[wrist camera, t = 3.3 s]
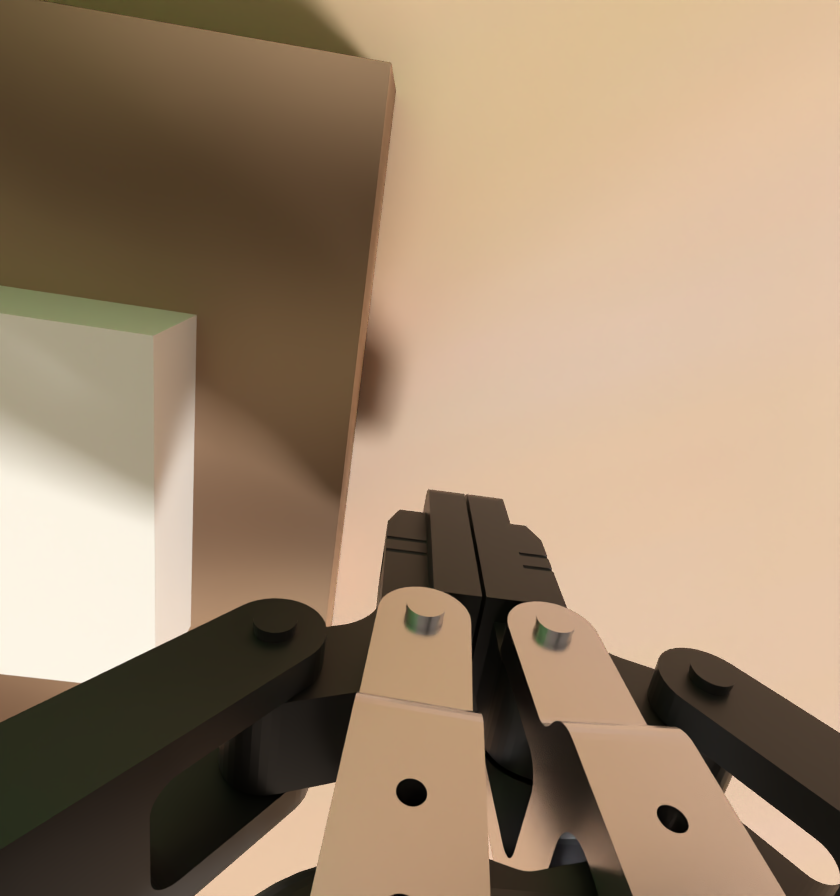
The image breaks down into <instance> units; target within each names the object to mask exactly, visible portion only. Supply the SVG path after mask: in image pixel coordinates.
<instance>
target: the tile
mask: <svg viewBox="0 0 840 896" xmlns="http://www.w3.org/2000/svg"><path fill="white" fill-rule="evenodd" d="M196 327H197V315H195V314H188V313H181V312H175V311H168V310H161V309H154V308H148V307H141V306H134V305H128V304H121V303H114V302H108V301H101V300H94V299H87V298H81V297H74V296H67V295H61V294H54V293H47V292H40V291H34V290H27V289H20V288H14V287H7V286H0V674H4V675H13V676H22V677H31V678H40V679H49V680H58V681H67V682H76V683H83V682H85V681H87V680H89V679H91V678H93V677H95V676H97V675H99V674H101V673H103V672H105V671H108V670H110V669H112V668H114V667H116V666H118V665H120V664H122V663H124V662H126V661H128V660H130V659H132V658H134V657H136V656H139V655H141V654H143V653H145V652H147V651H149V650H151V649H153V648H155V647H157V646H159V645H161V644H163V643H165V642H167V641H170V640H172V639H174V638H176V637H178V636H180V635H182V634H184V633H186V632H188V630H189V628H190V626H191V583H192V532H193V481H194V430H195V379H196Z"/></svg>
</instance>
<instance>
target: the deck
mask: <svg viewBox="0 0 840 896" xmlns="http://www.w3.org/2000/svg"><path fill="white" fill-rule="evenodd" d="M395 93H396V89H395V83H394V77H393V71H392V65H391V63H390V62H384V61H379V60H373V59H367V58H362V57H356V56H350V55H345V54H339V53H334V52H328V51H322V50H317V49H311V48H305V47H300V46H294V45H289V44H283V43H277V42H272V41H266V40H260V39H255V38H249V37H243V36H238V35H232V34H227V33H221V32H215V31H210V30H204V29H198V28H193V27H187V26H181V25H176V24H170V23H165V22H159V21H153V20H148V19H142V18H136V17H131V16H125V15H120V14H114V13H108V12H103V11H97V10H91V9H86V8H80V7H74V6H69V5H63V4H58V3H52V2H46V1H41V0H0V286H7V287H14V288H20V289H27V290H34V291H40V292H47V293H54V294H61V295H67V296H74V297H81V298H87V299H94V300H101V301H108V302H114V303H121V304H128V305H134V306H141V307H148V308H154V309H161V310H168V311H175V312H181V313H188V314H195V315H197V327H196V379H195V430H194V481H193V532H192V583H191V626H190V628H189V630H188V631H190V630H192V629H194V628H196V627H198V626H201V625H203V624H205V623H207V622H209V621H211V620H213V619H215V618H217V617H219V616H221V615H223V614H225V613H227V612H229V611H232V610H234V609H236V608H238V607H240V606H242V605H244V604H247V603H249V602H252V601H256V600H261V599H269V598H283V599H290V600H294V601H298V602H301V603H304V604H306V605H308V606H310V607H311V608H313V609H314V610H316V611H317V612H318V613H319V614H320V615H321V616H322V618H323V619H324V621H325V623H326V627H329V626H331V625H332V617H333V609H334V600H335V592H336V584H337V575H338V567H339V559H340V550H341V542H342V534H343V525H344V517H345V509H346V501H347V492H348V484H349V476H350V467H351V459H352V451H353V442H354V434H355V426H356V417H357V409H358V401H359V393H360V384H361V376H362V368H363V359H364V351H365V343H366V334H367V326H368V318H369V309H370V301H371V293H372V285H373V276H374V268H375V260H376V251H377V243H378V235H379V226H380V218H381V210H382V201H383V193H384V185H385V177H386V168H387V160H388V152H389V143H390V135H391V127H392V118H393V110H394V102H395ZM79 684H81V683H76V682H67V681H58V680H49V679H40V678H31V677H22V676H13V675H4V674H0V722H2V721H4V720H6V719H8V718H10V717H12V716H15V715H17V714H19V713H21V712H23V711H25V710H27V709H29V708H31V707H33V706H35V705H37V704H39V703H41V702H43V701H46V700H48V699H50V698H52V697H54V696H56V695H58V694H60V693H62V692H64V691H66V690H68V689H70V688H72V687H74V686H77V685H79Z"/></svg>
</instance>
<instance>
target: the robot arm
mask: <svg viewBox="0 0 840 896" xmlns="http://www.w3.org/2000/svg"><path fill="white" fill-rule="evenodd" d="M732 775H733V776H734V777H735V778H737V779H738V780H739V781H741V782H742V783H743V784H745V785H746V786H747V787H748V788H750V789H751V790H752V791H754V792H755V793H756V794H758V795H759V796H760V797H762V798H763V799H764V800H766V801H767V802H768V803H769V804H771V805H772V806H773V807H775V808H776V809H777V810H779V811H780V812H781V813H783V814H784V815H785V816H786V817H788V818H789V819H790V820H792V821H793V822H794V823H796V824H797V825H798V826H800V827H801V828H802V829H804V830H805V831H806V832H807V833H809V834H810V835H811V836H813V837H814V838H815V839H817V840H818V841H819V842H820V843H821V844H822V845H823V846H824V847H825V848H826V849H827V850H828V851H829V852H830V854H831V855H832V857H833V858H834V860H835V861H836V864H837V866H838V868H839V872H840V733H839V732H837V731H836V730H834V729H833V728H831V727H829V726H828V725H826V724H825V723H823V722H821V721H820V720H818V719H817V718H815V717H814V716H812V715H810V714H809V713H807V712H806V711H804V710H803V709H801V708H799V707H798V706H796V705H795V704H793V703H791V702H790V701H788V700H787V699H785V698H784V697H782V696H780V695H779V694H777V693H776V692H774V691H773V690H771V689H769V688H768V687H766V686H765V685H763V684H762V683H760V682H758V681H757V680H755V679H754V678H752V677H750V676H749V675H747V674H746V673H744V672H743V671H741V670H739V669H738V668H736V667H735V666H733V665H732V664H730V663H728V662H726V661H725V660H723V659H721V658H719V657H716V656H714V655H712V654H709V653H706V652H703V651H700V650H695V649H690V648H674V649H669V650H667V651H665V652H664V653H662V654H661V656H660V657H659V659H658V662H657V665H656V668H655V669H652V668H649V667H646V666H643V665H640V664H637V663H634V662H631V661H628V660H625V659H622V658H620V657H617V656H614V655H612V654H610V653H608V652H607V650H606V648H605V646H604V644H603V642H602V640H601V639H600V637H599V635H598V633H597V631H596V630H595V628H594V627H593V626H592V625H591V624H590V623H589V622H588V621H587V620H586V619H585V618H583V617H582V616H580V615H579V614H577V613H576V612H574V611H572V610H570V609H568V608H567V607H566V604H565V602H564V599H563V596H562V594H561V591H560V589H559V586H558V583H557V581H556V578H555V576H554V573H553V572H552V568H551V565H550V562H549V560H548V559H547V555H546V552H545V549H544V547H543V544H542V542H541V540H540V539H539V538H538V537H537V536H536V535H535V534H534V533H533V532H532V531H531V530H529V529H528V528H527V527H526V526H522V525H514V524H510V521H509V518H508V515H507V511H506V508H505V505H504V502H503V500H502V499H498V498H491V497H483V496H475V495H468V494H466V495H464V494H460V493H452V492H444V491H437V490H429V489H428V491H427V495H426V499H425V505H424V511H423V513H421V512H413V511H406V510H399V511H398V512H397V513H396V514H395V515H394V516H393V517H392V518H391V519H390V520H389V521H388V525H387V532H386V538H385V545H384V552H383V559H382V566H381V572H380V579H379V586H378V596H377V607H376V610H375V611H374V612H373V613H371V614H370V615H369V616H367V617H365V618H364V619H362V620H359V621H357V622H353V623H350V624H345V625H338V626H329V627H326V623H325V621H324V619H323V618H322V616H321V615H320V614H319V613H318V612H317V611H316V610H314V609H313V608H311V607H310V606H308V605H306V604H304V603H301V602H298V601H294V600H290V599H283V598H269V599H261V600H256V601H252V602H249V603H247V604H244V605H242V606H240V607H238V608H236V609H234V610H232V611H229V612H227V613H225V614H223V615H221V616H219V617H217V618H215V619H213V620H211V621H209V622H207V623H205V624H203V625H201V626H198V627H196V628H194V629H192V630H190V631H188V632H186V633H184V634H182V635H180V636H178V637H176V638H174V639H172V640H170V641H167V642H165V643H163V644H161V645H159V646H157V647H155V648H153V649H151V650H149V651H147V652H145V653H143V654H141V655H139V656H136V657H134V658H132V659H130V660H128V661H126V662H124V663H122V664H120V665H118V666H116V667H114V668H112V669H110V670H108V671H105V672H103V673H101V674H99V675H97V676H95V677H93V678H91V679H89V680H87V681H85V682H83V683H81V684H79V685H77V686H74V687H72V688H70V689H68V690H66V691H64V692H62V693H60V694H58V695H56V696H54V697H52V698H50V699H48V700H46V701H43V702H41V703H39V704H37V705H35V706H33V707H31V708H29V709H27V710H25V711H23V712H21V713H19V714H17V715H15V716H12V717H10V718H8V719H6V720H4V721H2V722H0V896H194V895H196V894H197V893H198V892H199V891H200V890H201V889H203V888H204V887H205V886H206V885H207V884H208V883H210V882H211V881H212V880H213V879H214V878H215V877H216V876H218V875H219V874H220V873H221V872H222V871H223V870H225V869H226V868H227V867H228V866H229V865H230V864H232V863H233V862H234V861H235V860H236V859H237V858H238V857H240V856H241V855H242V854H243V853H244V852H245V851H247V850H248V849H249V848H250V847H251V846H252V845H254V844H255V843H256V842H257V841H258V840H259V839H260V838H262V837H263V836H264V835H265V834H266V833H267V832H269V831H270V830H271V829H272V828H273V827H274V826H276V825H277V824H278V823H279V822H280V821H281V820H282V819H284V818H285V817H286V816H287V815H288V814H289V813H291V812H292V811H293V810H294V809H295V808H296V807H297V806H298V805H299V804H300V803H301V801H302V800H303V799H304V797H305V795H306V793H307V791H308V788H309V787H314V786H319V785H324V784H329V783H333V782H336V784H335V788H334V793H333V797H332V802H331V806H330V811H329V815H328V819H327V824H326V828H325V833H324V837H323V841H322V846H321V850H320V855H319V859H318V864H317V867H314V868H311V869H308V870H304V871H301V872H298V873H296V874H294V875H292V876H290V877H288V878H285V879H283V880H281V881H279V882H277V883H275V884H273V885H271V886H270V887H268V888H266V889H265V890H263V891H262V892H260V893H258V894H257V895H255V896H840V884H838V885H826V884H822V883H820V882H817V881H815V880H814V879H812V878H810V877H809V876H808V875H806V874H805V873H804V872H803V871H801V870H800V869H799V868H798V867H796V866H795V865H794V864H793V863H791V862H790V861H789V860H788V859H786V858H785V857H784V856H783V855H781V854H780V853H779V852H778V851H777V850H775V849H774V848H773V847H772V846H770V845H769V844H768V843H767V842H765V841H764V840H763V839H762V838H760V837H759V836H758V835H757V834H756V833H754V832H753V831H752V830H751V829H749V828H748V827H747V826H746V825H744V824H743V823H742V822H741V821H740V819H739V817H738V816H737V814H736V812H735V811H734V809H733V807H732V806H731V804H730V802H729V801H728V799H727V798H726V796H725V794H724V793H725V791H726V789H727V787H728V784H729V782H730V780H731V778H732ZM488 836H489V841H490V846H491V851H492V856H493V860H490V859H489V847H488Z"/></svg>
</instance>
